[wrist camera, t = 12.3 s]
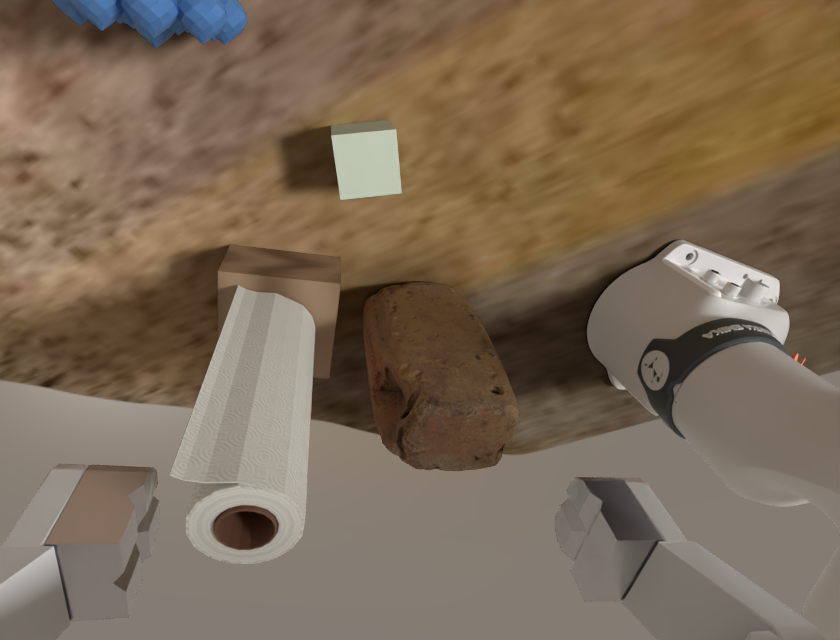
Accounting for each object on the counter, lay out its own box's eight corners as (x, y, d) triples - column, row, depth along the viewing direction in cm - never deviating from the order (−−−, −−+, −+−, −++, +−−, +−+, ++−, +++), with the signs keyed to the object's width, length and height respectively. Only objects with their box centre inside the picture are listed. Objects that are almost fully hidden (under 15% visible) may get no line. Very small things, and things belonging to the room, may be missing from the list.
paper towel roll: (317, 353, 47) (309, 561, 28) (249, 356, 46) (194, 574, 28) (312, 281, 43) (298, 467, 25) (238, 284, 42) (167, 478, 24)
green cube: (389, 119, 44) (396, 129, 39) (395, 178, 46) (401, 193, 42) (331, 125, 43) (331, 135, 39) (339, 184, 46) (340, 199, 41)
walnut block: (339, 257, 49) (340, 283, 44) (329, 345, 54) (329, 378, 48) (230, 244, 47) (217, 271, 42) (228, 337, 51) (217, 371, 46)
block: (469, 283, 53) (536, 406, 35) (454, 345, 56) (508, 484, 39) (364, 272, 50) (382, 398, 33) (355, 337, 54) (366, 481, 36)
